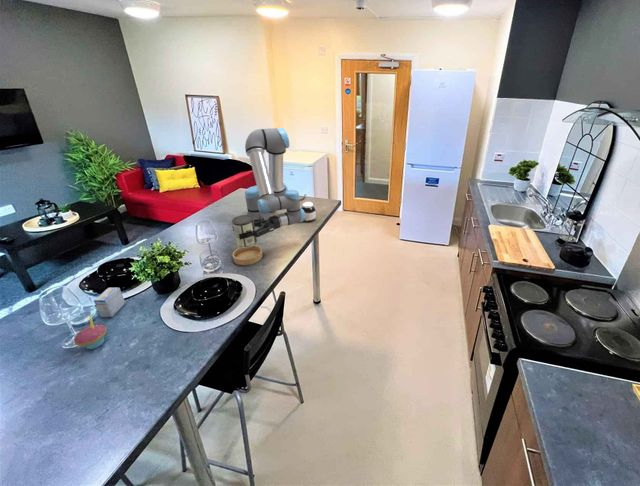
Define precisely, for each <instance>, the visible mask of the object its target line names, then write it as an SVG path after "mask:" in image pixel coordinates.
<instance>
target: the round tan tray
mask: <svg viewBox="0 0 640 486" xmlns="http://www.w3.org/2000/svg"><path fill="white" fill-rule="evenodd" d="M231 256H232V260H233V262H234V263H235V264H236V265H238V266H250V265H253V264H256V263H258V262H259V261H261V260H262V258H263V249H262V247H261V246H259V245H256V244H255V245H254V246H251V247H248V248H240V247H237V248H236V249H235V250H234V251H233V252H232V254H231Z"/></svg>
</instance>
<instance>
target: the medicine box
mask: <svg viewBox="0 0 640 486" xmlns="http://www.w3.org/2000/svg"><path fill="white" fill-rule="evenodd" d="M93 302H94V305H95V308H96V310H97V311H98V313H99V316H100V318H113V317H114V316H115V315H116V314H117V313H118V311H120V310H121V309H122V307H124V306H125V305H126V300H125V298H124V296H123V293H122V291H121V288H120V287H107V288H106V289H105V290H104V291H103V292H102V293H101V294H99V295H98V296H97V297H96V298H95V299H94V300H93Z"/></svg>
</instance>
